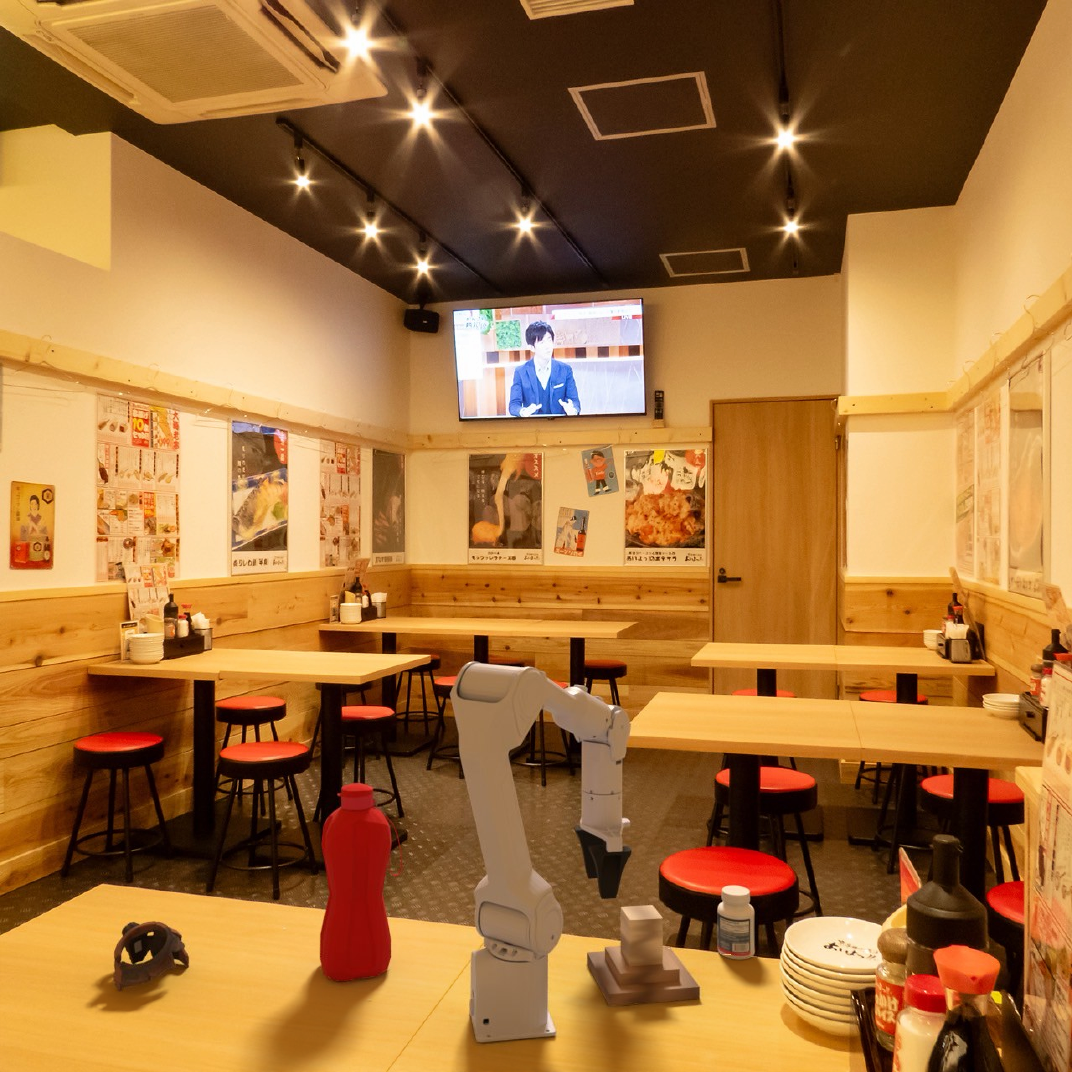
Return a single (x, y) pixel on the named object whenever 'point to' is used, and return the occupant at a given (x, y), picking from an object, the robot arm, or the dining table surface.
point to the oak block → (641, 935)
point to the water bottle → (356, 887)
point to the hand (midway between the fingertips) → (601, 887)
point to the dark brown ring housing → (138, 944)
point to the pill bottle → (736, 924)
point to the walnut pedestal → (641, 978)
